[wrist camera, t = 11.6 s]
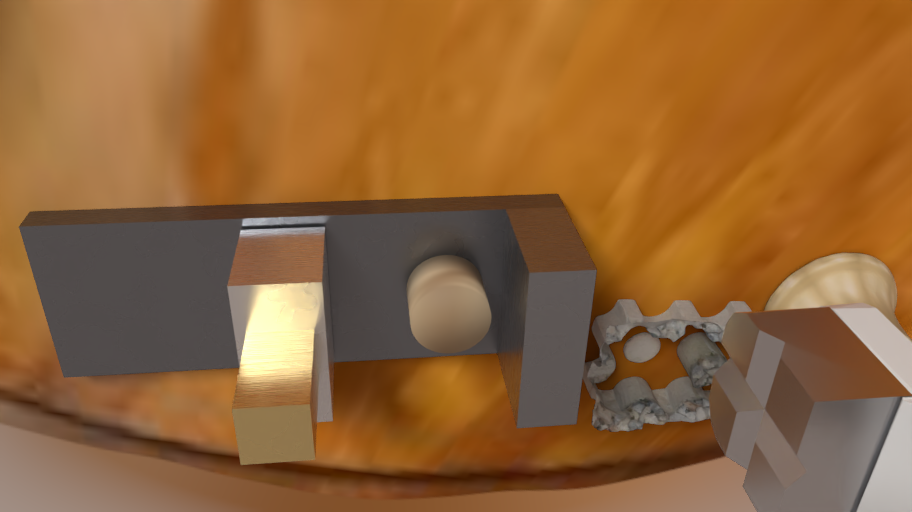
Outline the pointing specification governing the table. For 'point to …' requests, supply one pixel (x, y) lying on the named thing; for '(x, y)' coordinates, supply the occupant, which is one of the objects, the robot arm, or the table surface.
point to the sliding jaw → (281, 343)
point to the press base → (350, 284)
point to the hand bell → (839, 285)
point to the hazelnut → (447, 304)
